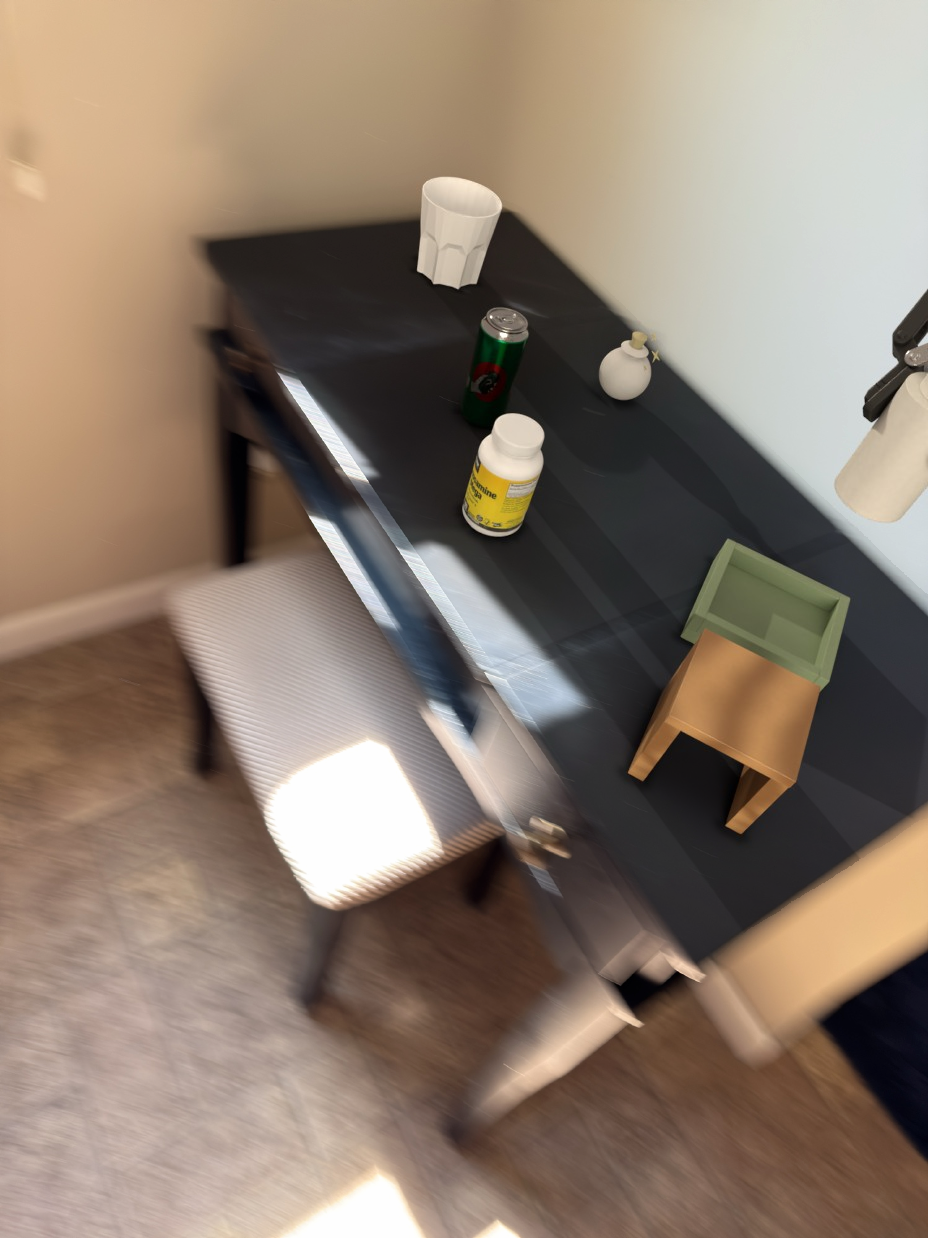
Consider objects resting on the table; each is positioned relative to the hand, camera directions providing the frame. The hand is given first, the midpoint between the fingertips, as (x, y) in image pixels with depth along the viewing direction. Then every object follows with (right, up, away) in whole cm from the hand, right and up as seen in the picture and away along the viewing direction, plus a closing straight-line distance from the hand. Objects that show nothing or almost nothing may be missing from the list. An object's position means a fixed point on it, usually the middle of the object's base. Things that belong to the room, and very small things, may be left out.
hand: (900, 442), depth 58 cm
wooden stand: (-10, -24, +14) cm, 29 cm away
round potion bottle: (-11, +14, +46) cm, 49 cm away
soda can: (-28, +11, +38) cm, 48 cm away
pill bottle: (-27, -2, +28) cm, 39 cm away
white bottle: (0, -3, +5) cm, 6 cm away
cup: (-32, +34, +56) cm, 73 cm away
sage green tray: (-1, -13, +26) cm, 29 cm away
